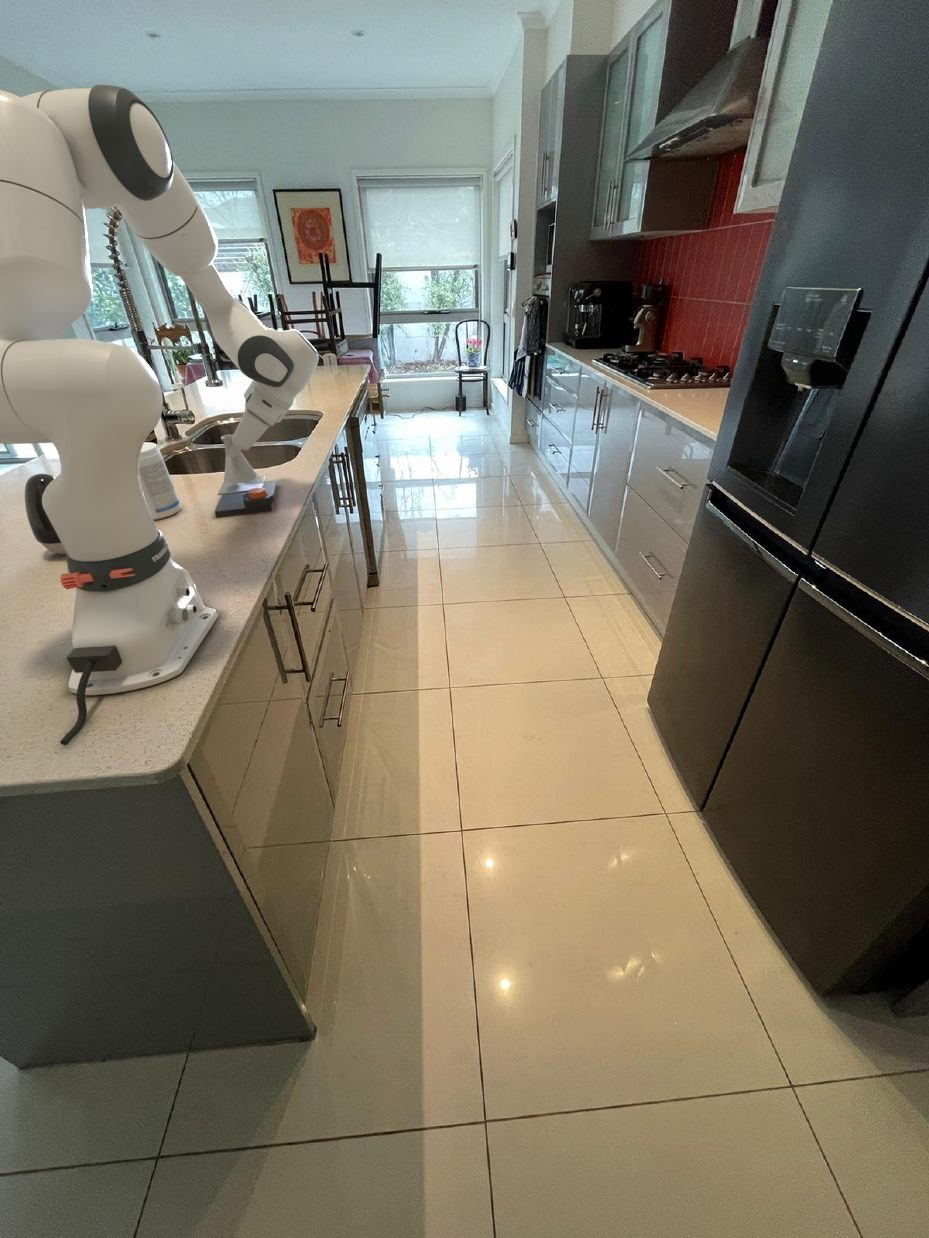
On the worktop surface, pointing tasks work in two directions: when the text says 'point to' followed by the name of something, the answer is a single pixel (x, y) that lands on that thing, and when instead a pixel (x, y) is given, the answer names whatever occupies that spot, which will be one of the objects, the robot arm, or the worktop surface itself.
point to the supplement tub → (157, 483)
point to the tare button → (257, 493)
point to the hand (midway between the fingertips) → (232, 451)
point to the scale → (246, 502)
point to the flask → (236, 465)
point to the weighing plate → (241, 486)
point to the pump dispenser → (41, 513)
